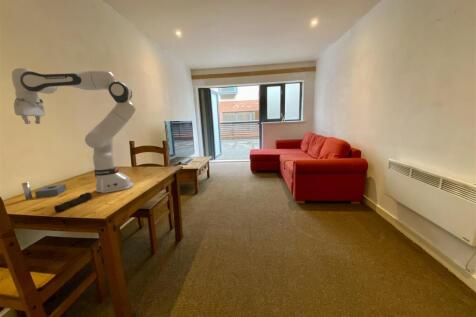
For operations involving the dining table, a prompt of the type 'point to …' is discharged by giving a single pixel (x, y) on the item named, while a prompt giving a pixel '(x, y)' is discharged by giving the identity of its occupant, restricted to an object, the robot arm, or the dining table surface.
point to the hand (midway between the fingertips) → (33, 123)
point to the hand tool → (73, 202)
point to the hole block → (50, 190)
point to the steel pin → (27, 190)
